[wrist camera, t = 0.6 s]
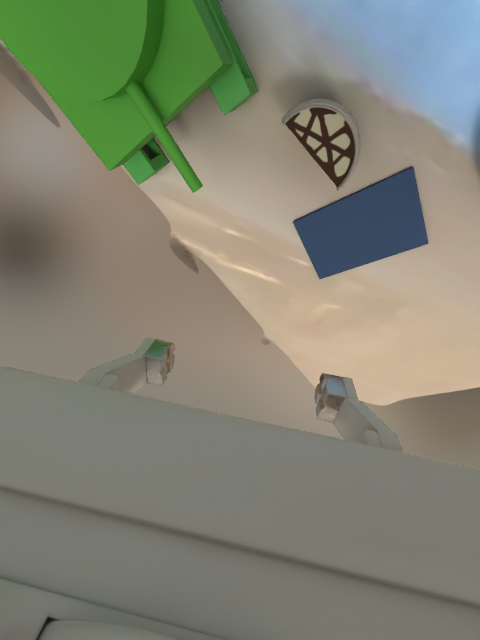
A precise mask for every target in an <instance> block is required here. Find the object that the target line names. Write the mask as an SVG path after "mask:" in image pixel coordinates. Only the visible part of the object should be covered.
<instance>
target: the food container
mask: <svg viewBox="0 0 480 640" xmlns="http://www.w3.org/2000/svg"><path fill="white" fill-rule="evenodd" d="M282 123H283V125H284V124H286V125H287V127H288V128H289V129H290V130H291V131H292V132H293V134H294V135H295V136H296V137H297V138H298V140H299V141H300V142H301V143H302V145H303V146H304V147H305V148H306V150H307V151H308V152H309V153H310V155H311V156H312V157H313V158H314V160H315V161H316V162H317V163H318V164H319V165H320V167H321V168H322V169H323V170H324V171H325V173H326V174H327V175H328V176H329V178H330V179H331V180H332V181H333V182H334V183H335V185H336V187H337V191H339V190H340V189H341V188H342V187H343V186H344V185H345V183H346V182H347V181H348V180H349V178H350V176H351V175H352V173H353V171H354V169H355V167H356V164H357V161H358V158H359V153H360V134H359V129H358V126H357V123H356V121H355V119H354V118H353V116H352V114H351V113H350V112H349V111H348V110H347V109H346V108H345V107H343V106H342V105H341V104H339V103H337V102H335V101H332V100H328V99H313V100H308V101H305V102H303V103H300V104H299V105H297V106H295V107H293V108H292V109H291V110H290V111H288V112H287V113H286V114H285V115H284V116H283V117H282Z"/></svg>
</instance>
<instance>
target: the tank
mask: <svg viewBox="0 0 480 640" xmlns="http://www.w3.org/2000/svg"><path fill="white" fill-rule="evenodd" d="M0 38H1V40H2V41H3V42H4V44H5V45H6V47H7V48H8V49H9V50H10V51H11V53H12V54H13V55H14V56H15V57H16V58H17V59H18V61H19V62H20V63H21V64H22V65H23V66H24V67H25V68H26V69H27V70H28V71H29V72H30V73H32V74H33V75H34V76H35V77H36V78H37V80H38V81H39V82H40V83H41V85H42V86H43V87H44V89H45V90H46V91H47V92H48V94H49V95H50V96H51V97H52V99H53V100H54V101H55V103H56V104H57V105H58V106H59V108H60V109H61V110H62V111H63V113H64V114H65V115H66V116H67V118H68V119H69V120H70V121H71V123H72V124H73V125H74V127H75V128H76V129H77V130H78V132H79V133H80V134H81V136H82V137H83V138H84V139H85V141H86V142H87V143H88V144H89V146H90V147H91V148H92V150H93V151H94V152H95V153H96V155H97V156H98V157H99V158H100V159H101V161H102V162H103V163H104V165H105V166H106V167H107V169H108V170H109V171H110V170H112V169H114V168H116V167H118V166H120V165H122V164H123V165H124V167H125V168H126V169H127V171H128V172H129V173H130V175H131V176H132V177H133V179H134V180H135V181H136V183H137V184H138V185H139V184H140V183H142V182H144V181H145V180H147V179H148V178H150V177H151V176H153V175H154V174H155V173H157V172H158V171H159V170H160V169H162V168H163V167H164V166H165V165H167V164H168V163H169V161H168V160H167V158H166V157H165V155H164V154H163V152H162V151H161V150H160V148H159V147H158V145H157V144H156V142H155V141H154V139H153V137H154V136H156V137H157V139H158V140H159V142H160V143H161V145H162V146H163V148H164V149H165V151H166V152H167V154H168V155H169V157H170V158H171V160H172V161H173V163H174V164H175V166H176V167H177V169H178V171H179V172H180V174H181V175H182V177H183V178H184V180H185V181H186V183H187V184H188V186H189V187H190V189H191V190H192V192H193V193H194V192H196V191H197V190H198V189H200V188H201V187H202V186H203V185H202V183H201V182H200V180H199V179H198V177H197V176H196V174H195V172H194V171H193V169H192V168H191V166H190V164H189V163H188V161H187V160H186V158H185V157H184V155H183V153H182V152H181V150H180V149H179V147H178V145H177V144H176V142H175V141H174V139H173V138H172V136H171V134H170V133H169V131H168V130H167V128H166V125H167V124H168V123H169V122H170V121H171V120H172V119H174V118H175V117H176V116H177V115H178V114H179V113H180V112H181V111H182V110H183V109H185V108H186V107H187V106H188V105H189V104H190V103H191V102H192V101H193V100H194V99H195V98H197V97H198V96H199V95H200V94H201V93H202V92H203V91H204V90H205V89H206V88H207V87H210V89H211V91H212V92H213V94H214V96H215V98H216V100H217V102H218V104H219V106H220V108H221V110H222V112H223V114H224V115H225V114H227V113H229V112H231V111H233V110H235V109H236V108H237V107H238V106H240V105H241V104H242V103H243V102H245V101H246V100H247V99H248V98H250V97H251V96H252V95H253V94H255V93H256V92H257V91H258V88H257V86H256V84H255V81H254V79H253V77H252V75H251V73H250V70H249V68H248V66H247V64H246V62H245V59H244V57H243V55H242V53H241V51H240V49H239V46H238V44H237V42H236V40H235V38H234V36H233V33H232V31H231V29H230V27H229V25H228V23H227V20H226V18H225V16H224V14H223V12H222V10H221V7H220V5H219V3H218V1H217V0H0Z"/></svg>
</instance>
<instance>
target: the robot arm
mask: <svg viewBox="0 0 480 640" xmlns="http://www.w3.org/2000/svg"><path fill="white" fill-rule="evenodd" d="M174 350H175V345H174V343H171V342H167V341H162V340H158V339H153V338H146V339H145V340H144V341H143V343H142V344H141V345H140V347H139V348H138V349H137V350H136V351H135V352H134V354H128V355H126V356H123V357H121V358H118V359H115V360H113V361H111V362H108V363H105V364H103V365H100V366H98V367H95V368H92V369H90V370H89V371H88V372H87V373H86V374H85V375H84V376H83V377H82V378H81V379H80V380H79V381H78V382H76V381H71V380H66V379H62V378H57V377H52V376H48V375H43V374H38V373H34V372H29V371H25V370H21V369H16V368H12V367H4V366H3V367H0V640H480V469H478V468H472V467H468V466H464V465H459V464H454V463H450V462H445V461H440V460H435V459H431V458H426V457H422V456H417V455H412V454H408V453H404V452H403V450H402V447H401V445H400V442H399V440H398V437H397V435H396V434H395V433H394V432H393V431H392V430H391V429H390V428H389V427H388V426H387V425H386V424H385V423H383V421H382V420H381V419H379V418H378V417H377V416H376V415H375V414H374V413H373V412H372V411H371V410H370V409H369V408H368V407H367V406H365V404H364V403H363V402H362V401H359V400H358V397H357V394H356V391H355V387H354V384H353V381H352V379H351V378H347V377H340V376H335V375H329V374H324V373H322V374H321V376H320V383H319V384H318V385H317V387H316V390H315V403H316V404H317V407H316V415H317V419H320V420H324V421H328V422H332V423H333V424H334V425H335V427H336V428H337V430H338V431H339V433H340V434H341V435H342V437H343V438H344V440H343V439H339V438H334V437H329V436H325V435H320V434H315V433H311V432H306V431H301V430H297V429H292V428H288V427H283V426H279V425H274V424H269V423H264V422H259V421H255V420H251V419H245V418H241V417H236V416H232V415H228V414H223V413H218V412H213V411H209V410H205V409H200V408H195V407H191V406H186V405H181V404H177V403H172V402H168V401H163V400H158V399H154V398H149V397H145V396H140V395H135V394H132V393H133V392H135V391H136V390H138V389H140V388H141V387H143V386H144V385H146V384H147V383H149V384H155V385H160V386H163V384H164V382H165V380H166V379H167V373H169V372H170V371H171V369H172V368H173V365H174V358H175V356H174V354H173V351H174Z"/></svg>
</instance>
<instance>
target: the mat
mask: <svg viewBox="0 0 480 640" xmlns="http://www.w3.org/2000/svg"><path fill="white" fill-rule="evenodd" d="M293 223H294V225H295V227H296V230H297V232H298V234H299V236H300V238H301V240H302V242H303V245H304V247H305V249H306V251H307V253H308V255H309V257H310V260H311V262H312V264H313V266H314V268H315V270H316V272H317V275H318V277H319V279H322V278H325V277H328V276H331V275H334V274H337V273H340V272H343V271H346V270H349V269H352V268H355V267H359V266H362V265H365V264H368V263H371V262H374V261H377V260H380V259H383V258H386V257H389V256H392V255H395V254H398V253H401V252H404V251H407V250H410V249H413V248H417V247H420V246H423V245H426V244H428V240H427V234H426V229H425V224H424V219H423V214H422V209H421V204H420V199H419V194H418V189H417V184H416V178H415V173H414V168H413V167H410V168H408V169H406V170H404V171H401V172H399V173H397V174H395V175H393V176H391V177H388V178H386V179H384V180H382V181H380V182H377V183H375V184H373V185H371V186H369V187H367V188H364V189H362V190H360V191H358V192H356V193H354V194H351V195H349V196H347V197H345V198H343V199H341V200H338V201H336V202H334V203H332V204H330V205H327V206H325V207H323V208H321V209H319V210H317V211H314V212H312V213H310V214H308V215H306V216H304V217H301V218H299V219H297V220H295V221H293Z"/></svg>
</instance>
